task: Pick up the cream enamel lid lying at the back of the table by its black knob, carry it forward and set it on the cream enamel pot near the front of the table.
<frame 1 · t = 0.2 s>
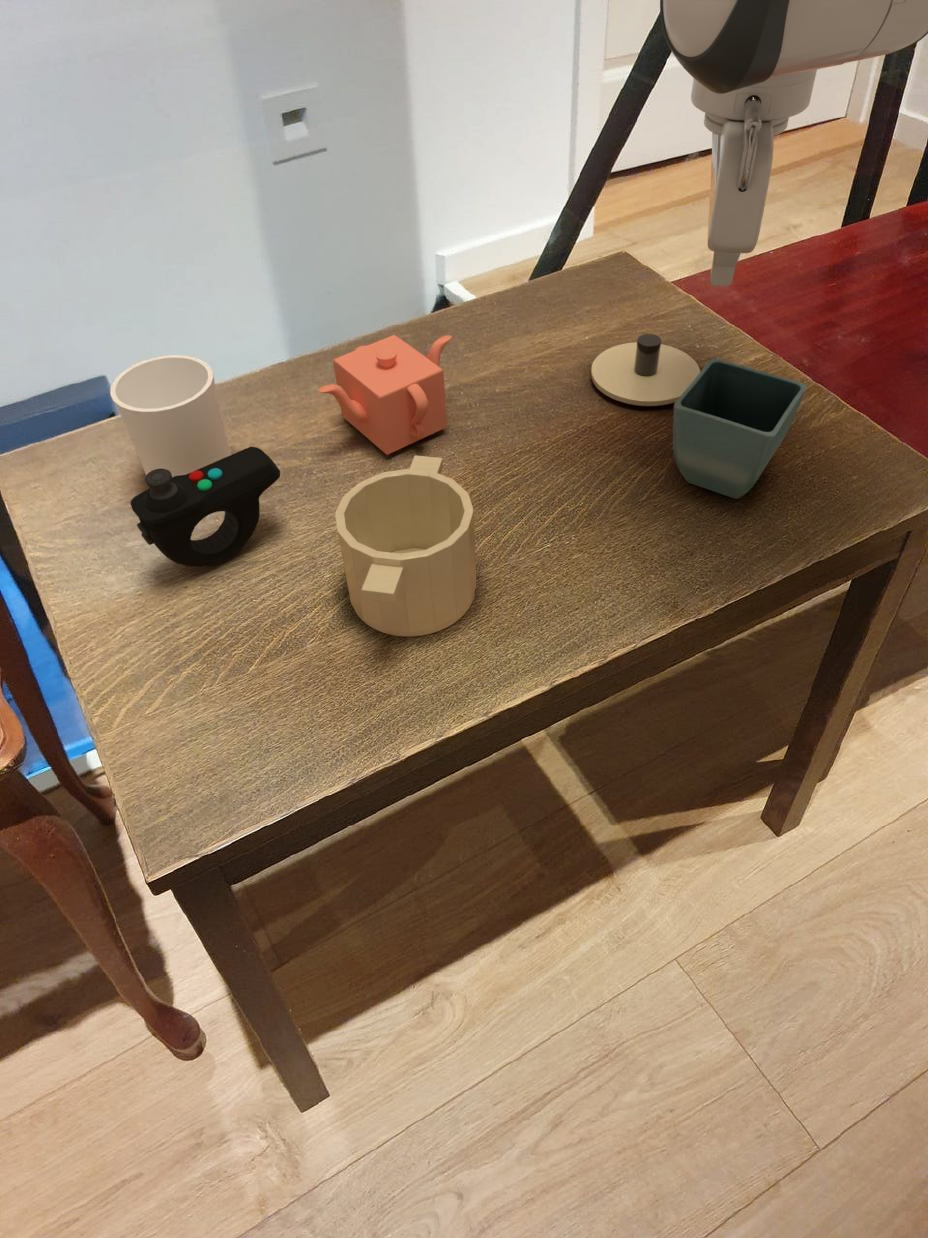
hand: (721, 255, 77), 16 cm above the table, tool pointing down, fingers open, 8 cm apart
lid: (644, 375, 93), point 1 cm above the table
controller: (227, 551, 78), on the table
mug: (188, 472, 86), on the table
teapot: (394, 428, 90), on the table
pot: (413, 589, 74), on the table
flower pot: (722, 479, 82), on the table
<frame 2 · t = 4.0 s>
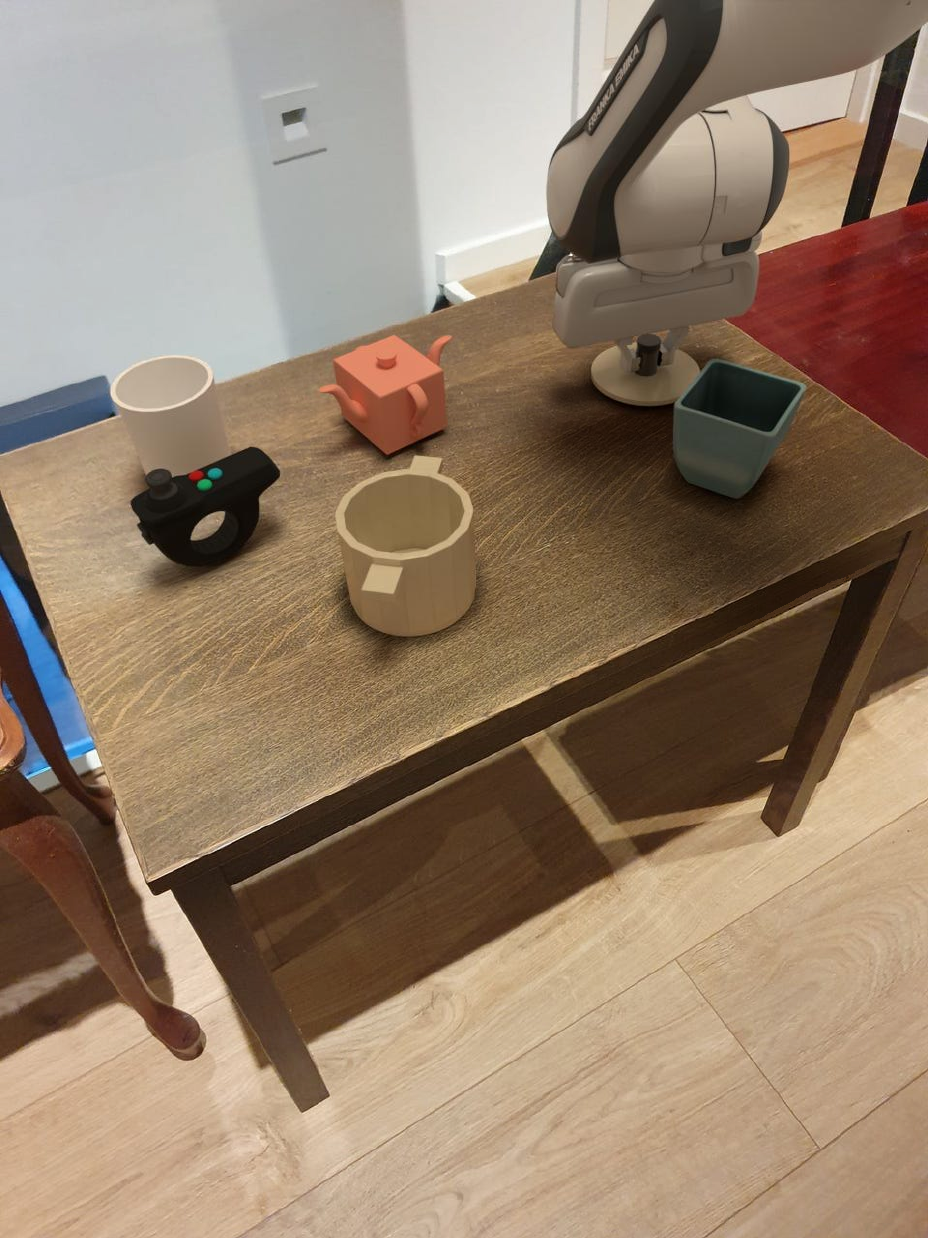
hand: (646, 366, 92), 2 cm above the table, tool pointing down, fingers closed on lid, 2 cm apart
lid: (644, 375, 93), point 1 cm above the table, touching gripper
everything else where it was.
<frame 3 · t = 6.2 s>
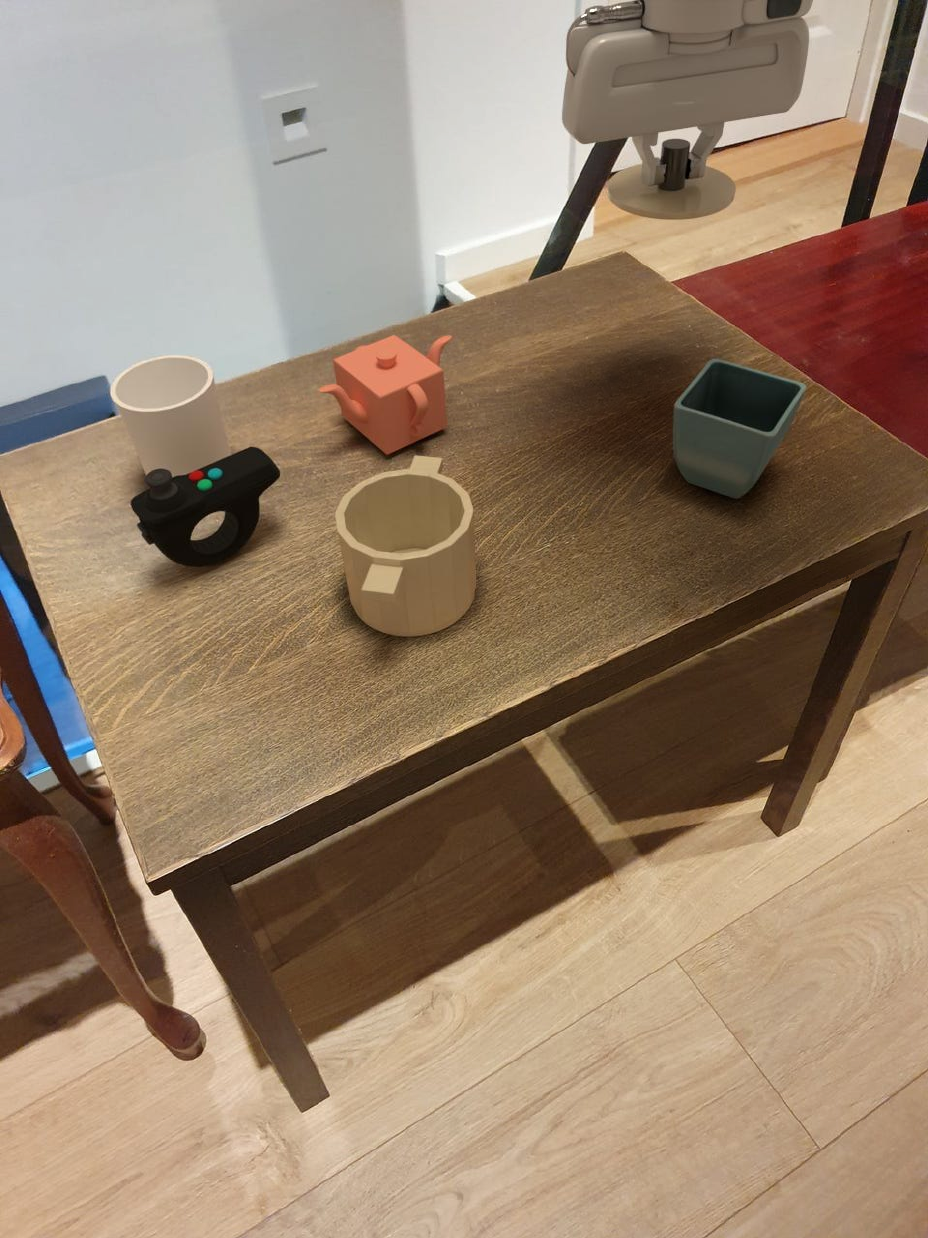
hand: (672, 179, 79), 20 cm above the table, tool pointing down, fingers closed on lid, 2 cm apart
lid: (670, 192, 79), point 19 cm above the table, touching gripper
everything else where it was.
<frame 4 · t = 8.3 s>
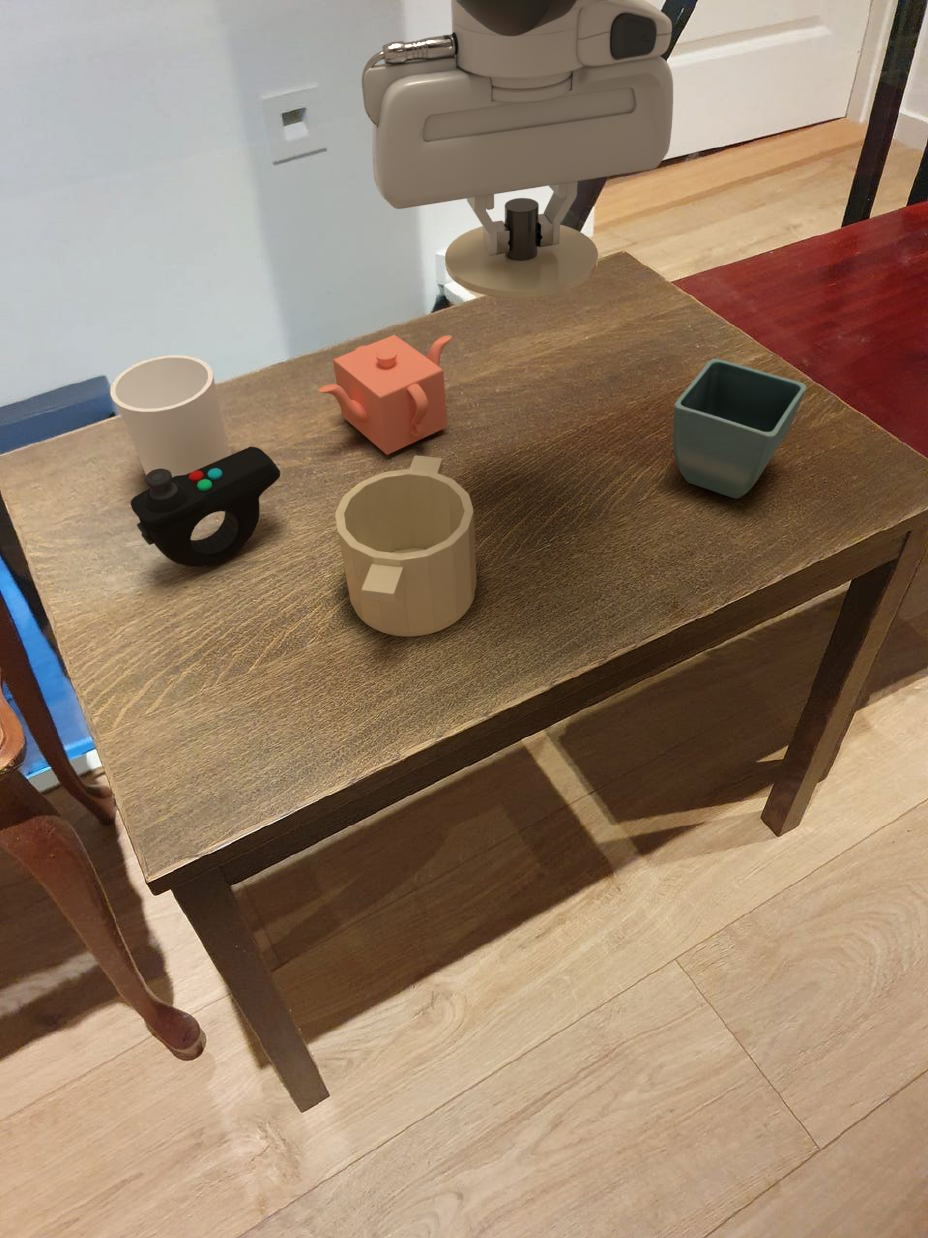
hand: (521, 247, 65), 23 cm above the table, tool pointing down, fingers closed on lid, 2 cm apart
lid: (521, 261, 66), point 22 cm above the table, touching gripper
everything else where it was.
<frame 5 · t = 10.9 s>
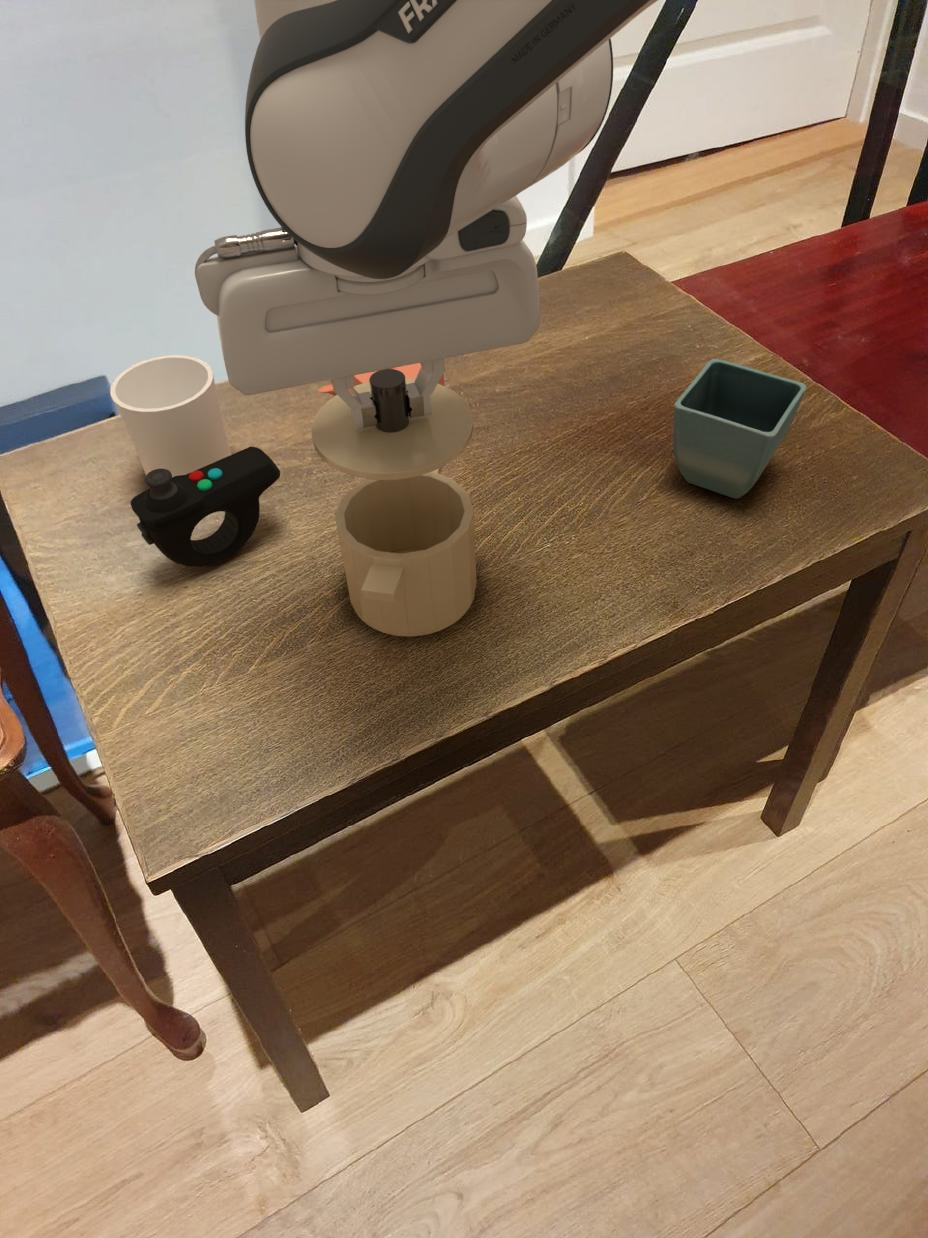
hand: (392, 417, 61), 17 cm above the table, tool pointing down, fingers closed on lid, 2 cm apart
lid: (393, 429, 62), point 16 cm above the table, touching gripper
everything else where it was.
when the fingers open (10 cm above the table, at t = 12.9 s): lid stays where it is, resting on pot.
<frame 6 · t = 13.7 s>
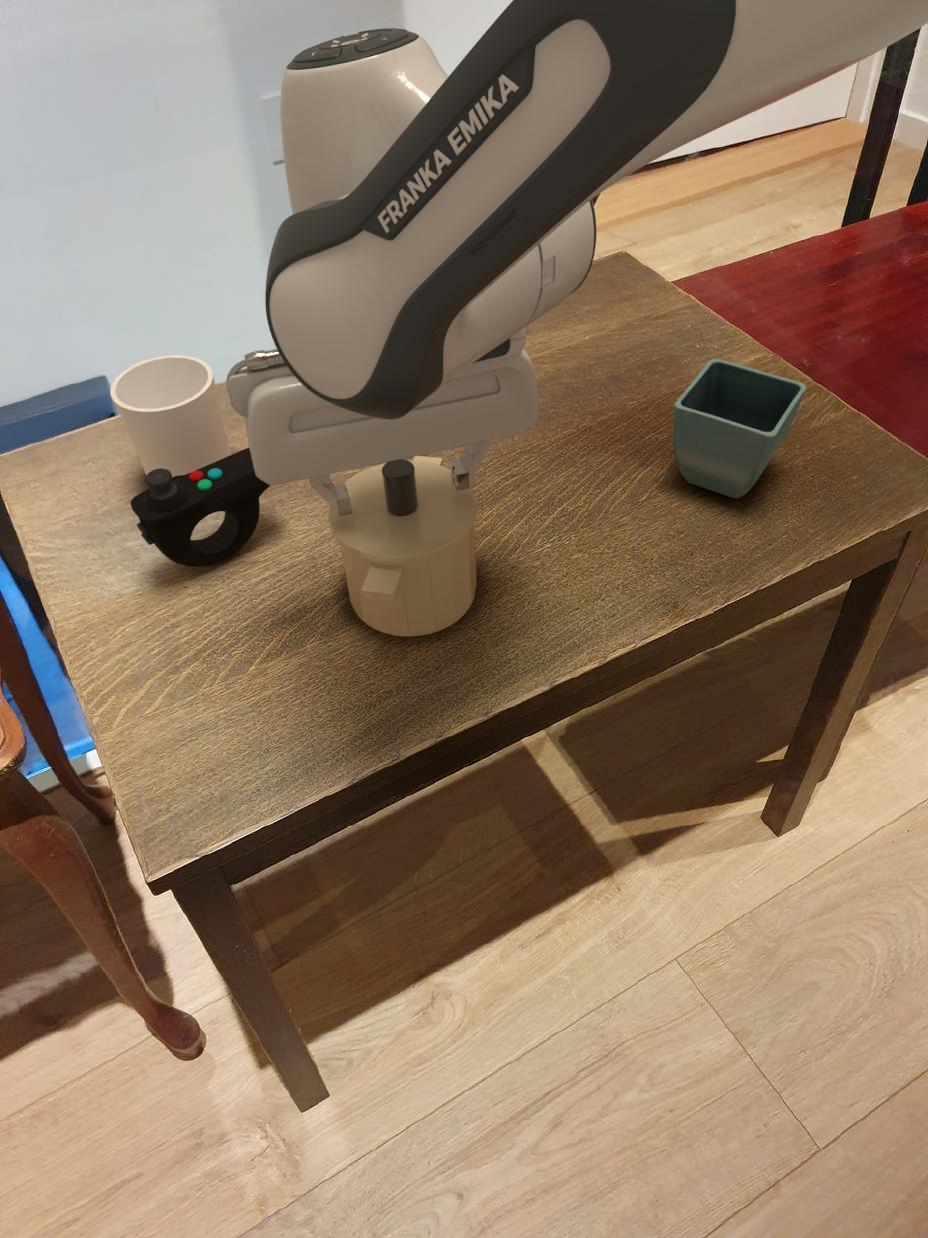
hand: (402, 497, 67), 10 cm above the table, tool pointing down, fingers open, 8 cm apart
lid: (403, 512, 68), point 8 cm above the table, touching pot
everything else where it was.
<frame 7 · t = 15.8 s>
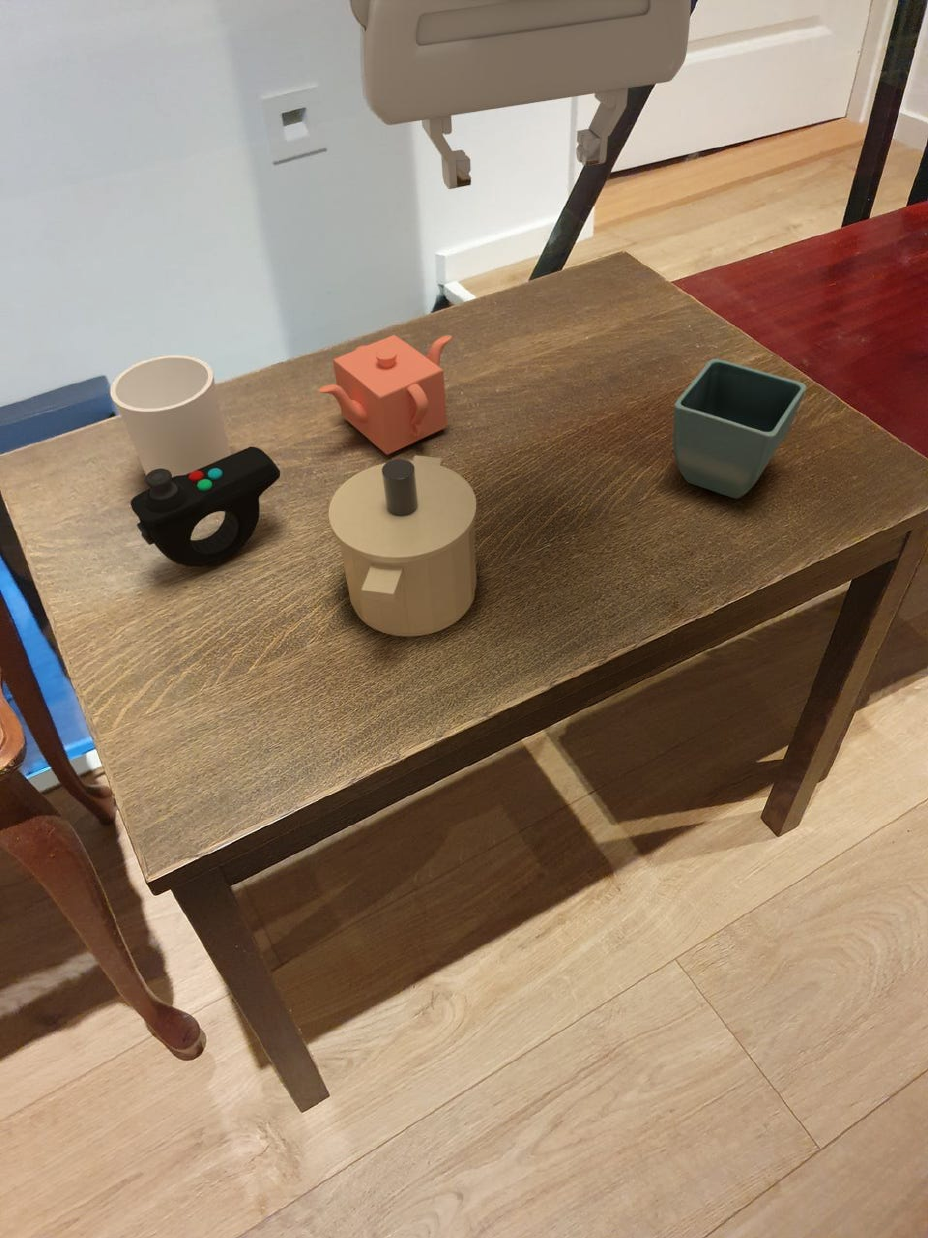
hand: (524, 172, 59), 29 cm above the table, tool pointing down, fingers open, 8 cm apart
nothing on the table moved.
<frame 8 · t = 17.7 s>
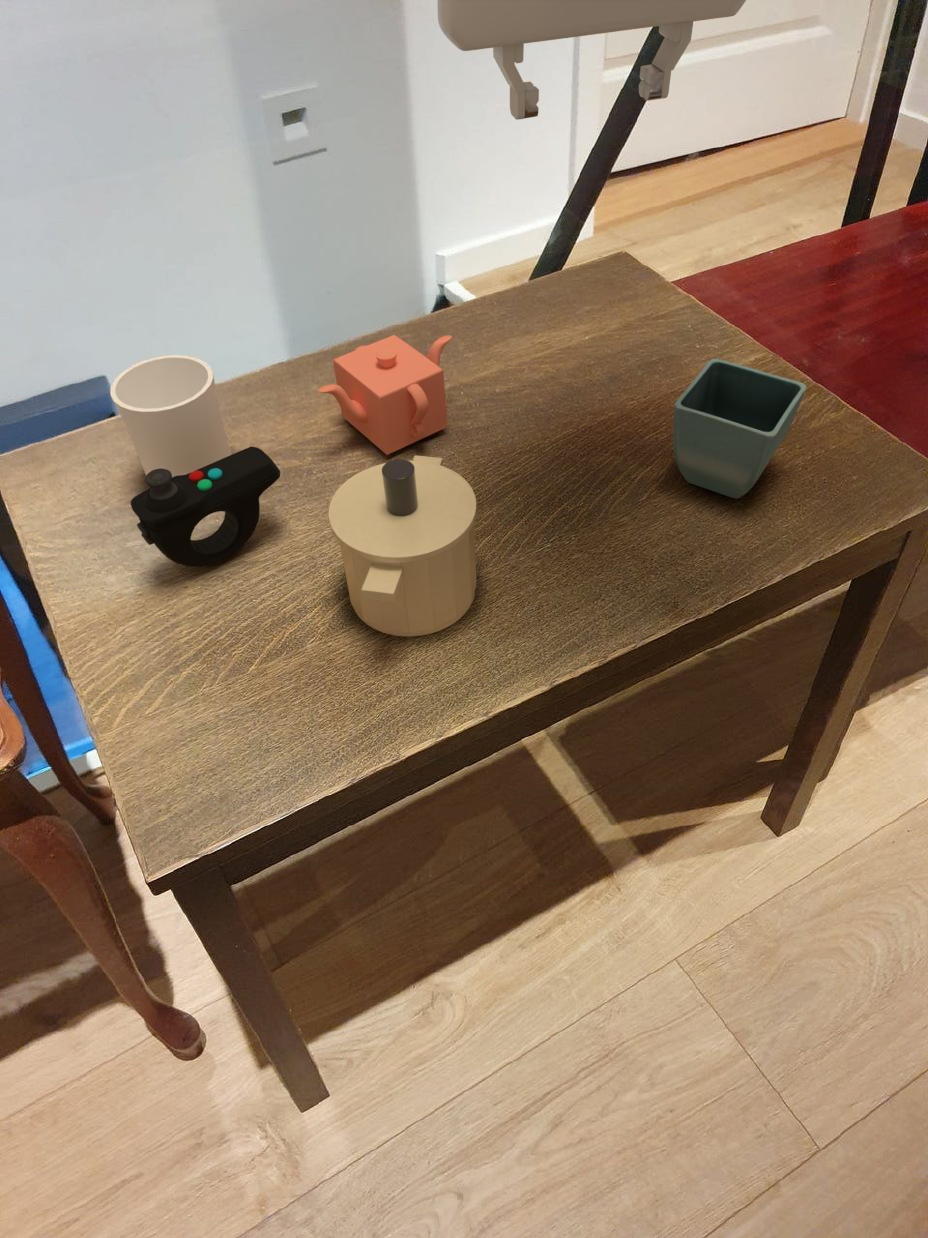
hand: (589, 106, 61), 31 cm above the table, tool pointing down, fingers open, 8 cm apart
nothing on the table moved.
at the end: lid 0.1 cm off-centre on the pot, point 8.5 cm above the pot's base; lid tilted 0° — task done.
